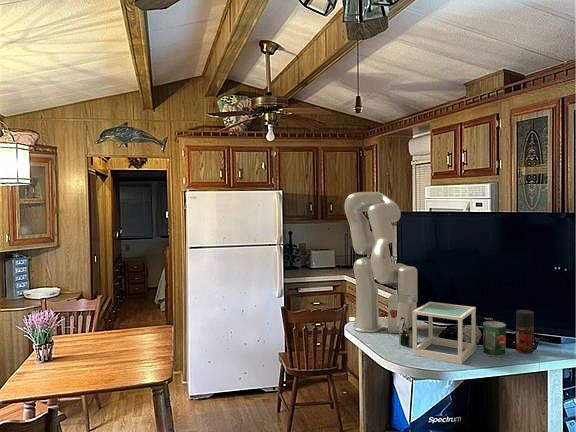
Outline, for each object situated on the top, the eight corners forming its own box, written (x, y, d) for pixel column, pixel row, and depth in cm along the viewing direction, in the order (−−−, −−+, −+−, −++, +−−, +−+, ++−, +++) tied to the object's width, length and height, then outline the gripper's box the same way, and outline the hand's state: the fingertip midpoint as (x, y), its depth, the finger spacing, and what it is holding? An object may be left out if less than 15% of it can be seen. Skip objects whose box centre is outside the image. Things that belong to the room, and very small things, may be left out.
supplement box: (387, 332, 219) (387, 297, 218) (391, 327, 227) (391, 293, 226) (408, 334, 215) (408, 299, 214) (412, 328, 224) (412, 294, 223)
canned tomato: (507, 357, 185) (507, 327, 185) (483, 355, 187) (484, 326, 187) (504, 350, 193) (504, 321, 192) (481, 348, 195) (482, 320, 194)
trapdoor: (418, 313, 189) (418, 311, 189) (431, 305, 201) (431, 303, 201) (457, 320, 181) (457, 317, 181) (469, 311, 192) (469, 309, 192)
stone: (399, 344, 202) (399, 332, 201) (404, 341, 206) (404, 329, 206) (411, 346, 199) (411, 334, 199) (416, 343, 203) (416, 331, 203)
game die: (473, 352, 203) (484, 330, 205) (478, 351, 194) (490, 328, 196) (452, 339, 205) (464, 318, 207) (457, 338, 197) (469, 316, 199)
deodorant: (512, 350, 193) (512, 310, 192) (524, 347, 195) (524, 309, 194) (525, 354, 188) (525, 314, 187) (537, 352, 190) (537, 312, 189)
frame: (412, 355, 189) (412, 311, 188) (429, 342, 204) (429, 301, 203) (461, 364, 179) (461, 317, 178) (475, 350, 193) (475, 307, 192)
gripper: (406, 293, 210) (407, 336, 211) (389, 301, 196) (390, 347, 198) (424, 295, 206) (424, 339, 207) (408, 303, 192) (408, 351, 193)
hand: (407, 342), depth 202 cm, fingers closed on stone, 5 cm apart
